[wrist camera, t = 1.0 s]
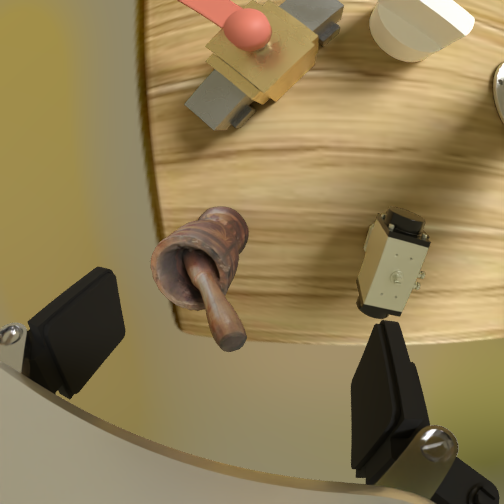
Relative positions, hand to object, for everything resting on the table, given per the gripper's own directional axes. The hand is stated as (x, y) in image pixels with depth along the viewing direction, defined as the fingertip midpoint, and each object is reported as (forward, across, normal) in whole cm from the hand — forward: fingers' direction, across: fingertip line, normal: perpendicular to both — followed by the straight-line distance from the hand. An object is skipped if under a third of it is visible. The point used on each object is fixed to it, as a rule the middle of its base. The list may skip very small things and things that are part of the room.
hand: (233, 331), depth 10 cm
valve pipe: (+30, +4, -15) cm, 34 cm away
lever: (+17, +8, -18) cm, 26 cm away
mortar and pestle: (+30, +7, +8) cm, 32 cm away
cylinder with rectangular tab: (+30, -12, -22) cm, 39 cm away
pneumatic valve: (+30, -12, +6) cm, 33 cm away
